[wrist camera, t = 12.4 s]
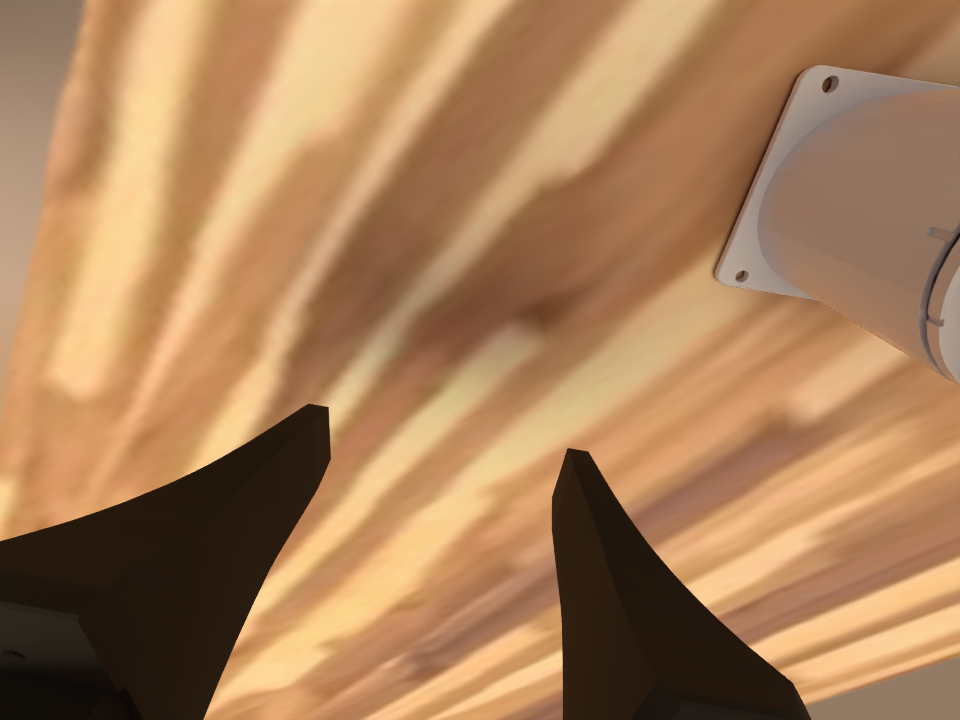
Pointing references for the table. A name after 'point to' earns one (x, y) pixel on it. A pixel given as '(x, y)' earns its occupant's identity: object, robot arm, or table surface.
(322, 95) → the table surface
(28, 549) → the robot arm
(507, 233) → the table surface
